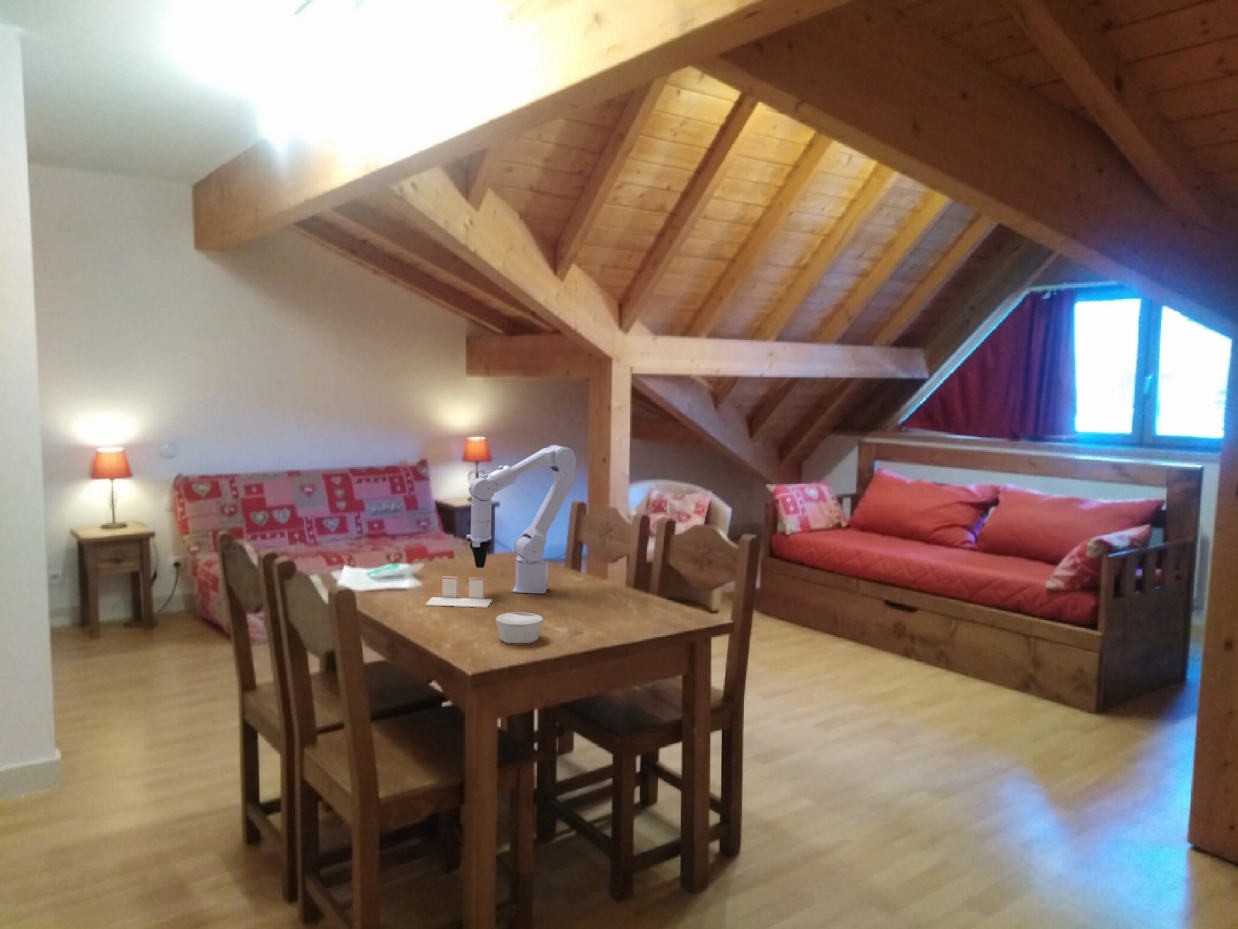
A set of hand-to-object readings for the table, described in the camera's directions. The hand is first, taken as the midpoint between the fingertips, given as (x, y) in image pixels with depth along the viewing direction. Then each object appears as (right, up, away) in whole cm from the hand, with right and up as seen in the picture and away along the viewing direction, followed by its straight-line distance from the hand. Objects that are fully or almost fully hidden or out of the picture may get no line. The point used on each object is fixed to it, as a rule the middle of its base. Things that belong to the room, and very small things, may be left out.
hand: (480, 567), depth 255 cm
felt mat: (-4, -9, -10) cm, 14 cm away
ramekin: (+16, -13, -41) cm, 46 cm away
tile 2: (0, -8, -5) cm, 10 cm away
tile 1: (-8, -8, -4) cm, 12 cm away
